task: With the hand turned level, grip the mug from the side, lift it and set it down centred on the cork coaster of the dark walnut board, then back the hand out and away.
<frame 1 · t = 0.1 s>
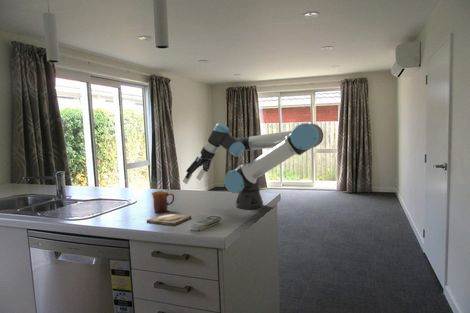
hand: (191, 180, 185), 15 cm above the countertop, tool tilted 35°, fingers open, 13 cm apart
board: (169, 220, 161), on the countertop
mug: (163, 211, 181), on the countertop
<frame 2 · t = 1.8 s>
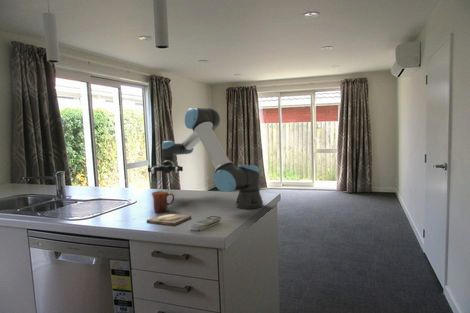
hand: (164, 171, 188), 21 cm above the countertop, tool horizontal, fingers open, 13 cm apart
nothing on the countertop moved.
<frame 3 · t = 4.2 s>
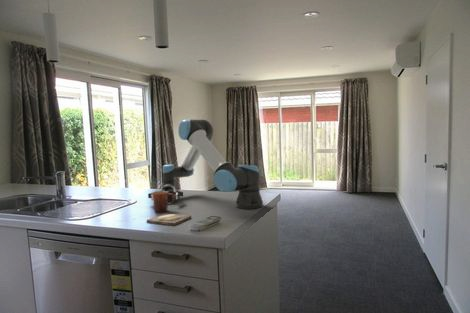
hand: (164, 197, 188), 6 cm above the countertop, tool horizontal, fingers open, 13 cm apart
nothing on the countertop moved.
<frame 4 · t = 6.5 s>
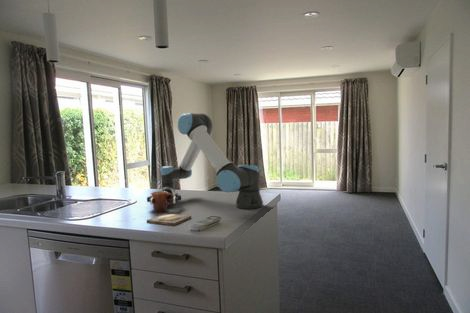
hand: (162, 201, 176), 6 cm above the countertop, tool horizontal, fingers closed on mug, 11 cm apart
mug: (163, 211, 181), on the countertop, touching gripper
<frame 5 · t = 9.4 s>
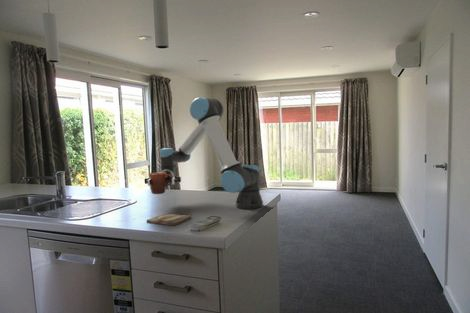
hand: (160, 182, 165), 18 cm above the countertop, tool horizontal, fingers closed on mug, 11 cm apart
mug: (161, 193, 169), point 12 cm above the countertop, touching gripper
when the fingers open (9 cm above the countertop, at t = 12.4 s): mug drops 1 cm, resting on board.
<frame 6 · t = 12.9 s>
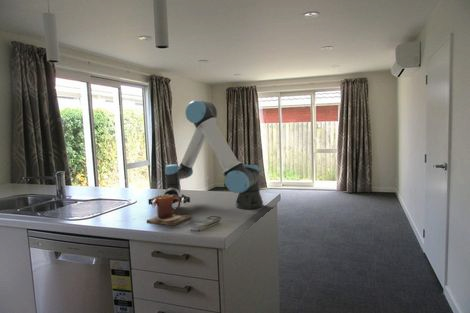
hand: (167, 204, 157), 9 cm above the countertop, tool horizontal, fingers open, 13 cm apart
mug: (168, 217, 161), point 1 cm above the countertop, touching board
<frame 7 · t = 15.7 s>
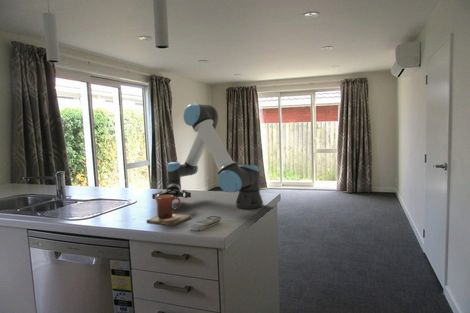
hand: (170, 198, 170), 9 cm above the countertop, tool horizontal, fingers open, 13 cm apart
nothing on the countertop moved.
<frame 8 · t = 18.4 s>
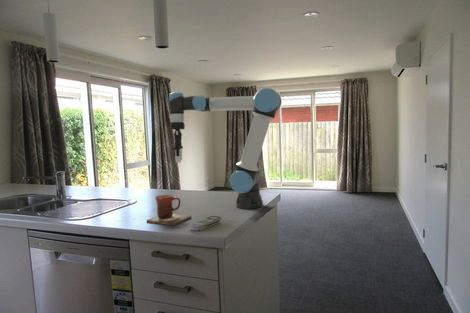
hand: (179, 161, 180), 27 cm above the countertop, tool pointing down, fingers open, 13 cm apart
nothing on the countertop moved.
at the end: mug 0.2 cm off-centre on the board, point 1.3 cm above the board's base; mug tilted 0°; the gripper is holding nothing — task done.
